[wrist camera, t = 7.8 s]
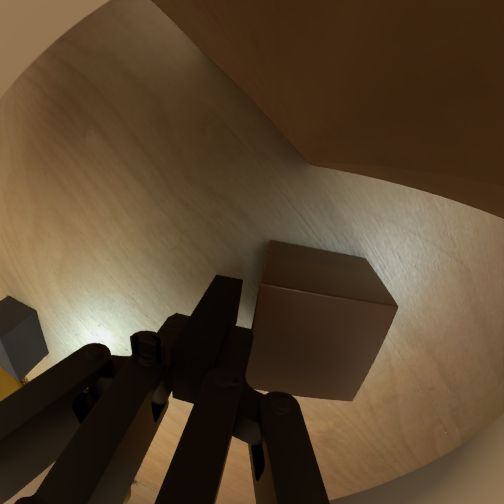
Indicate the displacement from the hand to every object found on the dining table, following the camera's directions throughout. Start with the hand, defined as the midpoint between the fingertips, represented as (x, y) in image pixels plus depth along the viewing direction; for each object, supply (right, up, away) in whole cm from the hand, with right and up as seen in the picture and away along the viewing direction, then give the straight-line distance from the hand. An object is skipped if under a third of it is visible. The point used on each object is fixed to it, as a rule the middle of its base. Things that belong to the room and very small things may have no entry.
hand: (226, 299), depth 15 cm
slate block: (-25, -6, +8) cm, 27 cm away
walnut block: (+5, 0, +2) cm, 5 cm away
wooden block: (+5, +14, -3) cm, 15 cm away
